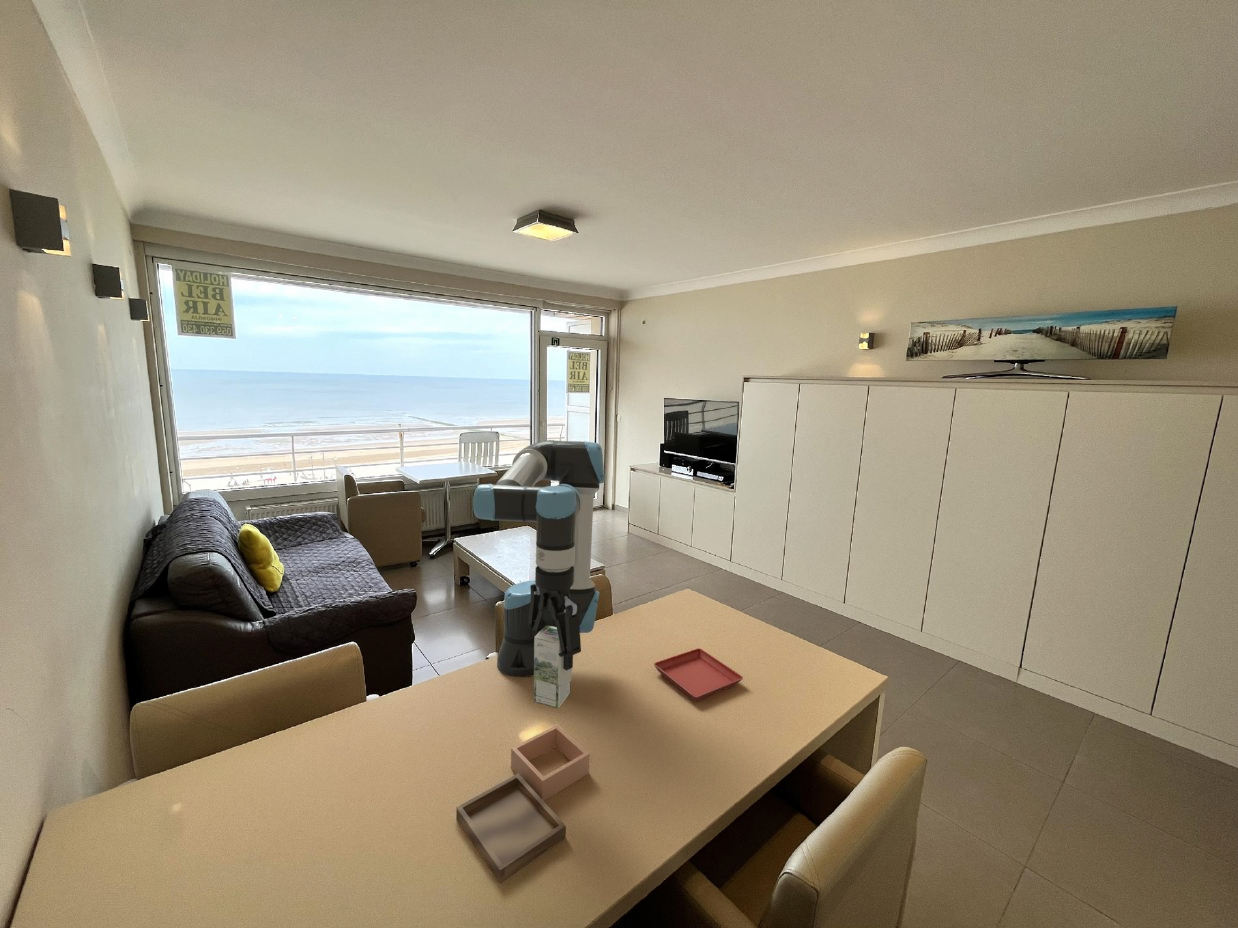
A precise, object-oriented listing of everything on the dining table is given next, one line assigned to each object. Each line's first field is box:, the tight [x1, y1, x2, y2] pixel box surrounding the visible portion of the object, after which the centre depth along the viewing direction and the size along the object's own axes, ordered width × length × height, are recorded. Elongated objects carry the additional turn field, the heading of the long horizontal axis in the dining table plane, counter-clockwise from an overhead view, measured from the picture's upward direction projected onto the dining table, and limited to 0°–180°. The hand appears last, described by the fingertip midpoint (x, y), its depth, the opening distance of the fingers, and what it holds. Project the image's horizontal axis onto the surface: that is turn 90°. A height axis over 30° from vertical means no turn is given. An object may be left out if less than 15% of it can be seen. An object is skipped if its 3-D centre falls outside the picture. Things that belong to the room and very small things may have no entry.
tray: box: [455, 773, 567, 884], centre depth 91 cm, size 16×13×2 cm
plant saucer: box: [653, 647, 744, 702], centre depth 141 cm, size 18×18×3 cm
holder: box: [510, 724, 591, 802], centre depth 105 cm, size 12×12×4 cm
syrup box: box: [533, 625, 571, 709], centre depth 103 cm, size 6×6×14 cm
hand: (552, 672), depth 103 cm, fingers closed on syrup box, 8 cm apart
